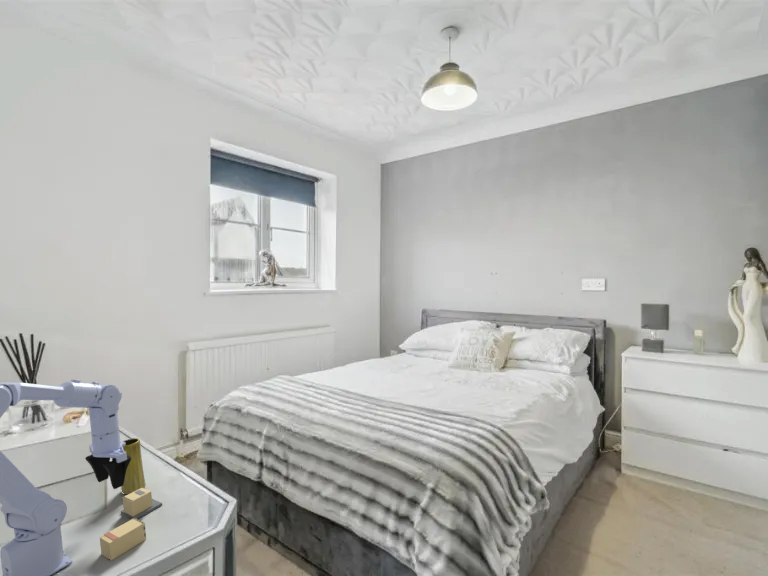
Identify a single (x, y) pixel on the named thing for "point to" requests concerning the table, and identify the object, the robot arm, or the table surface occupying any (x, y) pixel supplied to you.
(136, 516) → the coaster
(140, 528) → the cardboard shipping box
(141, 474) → the vase
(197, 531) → the table surface
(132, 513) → the stub
